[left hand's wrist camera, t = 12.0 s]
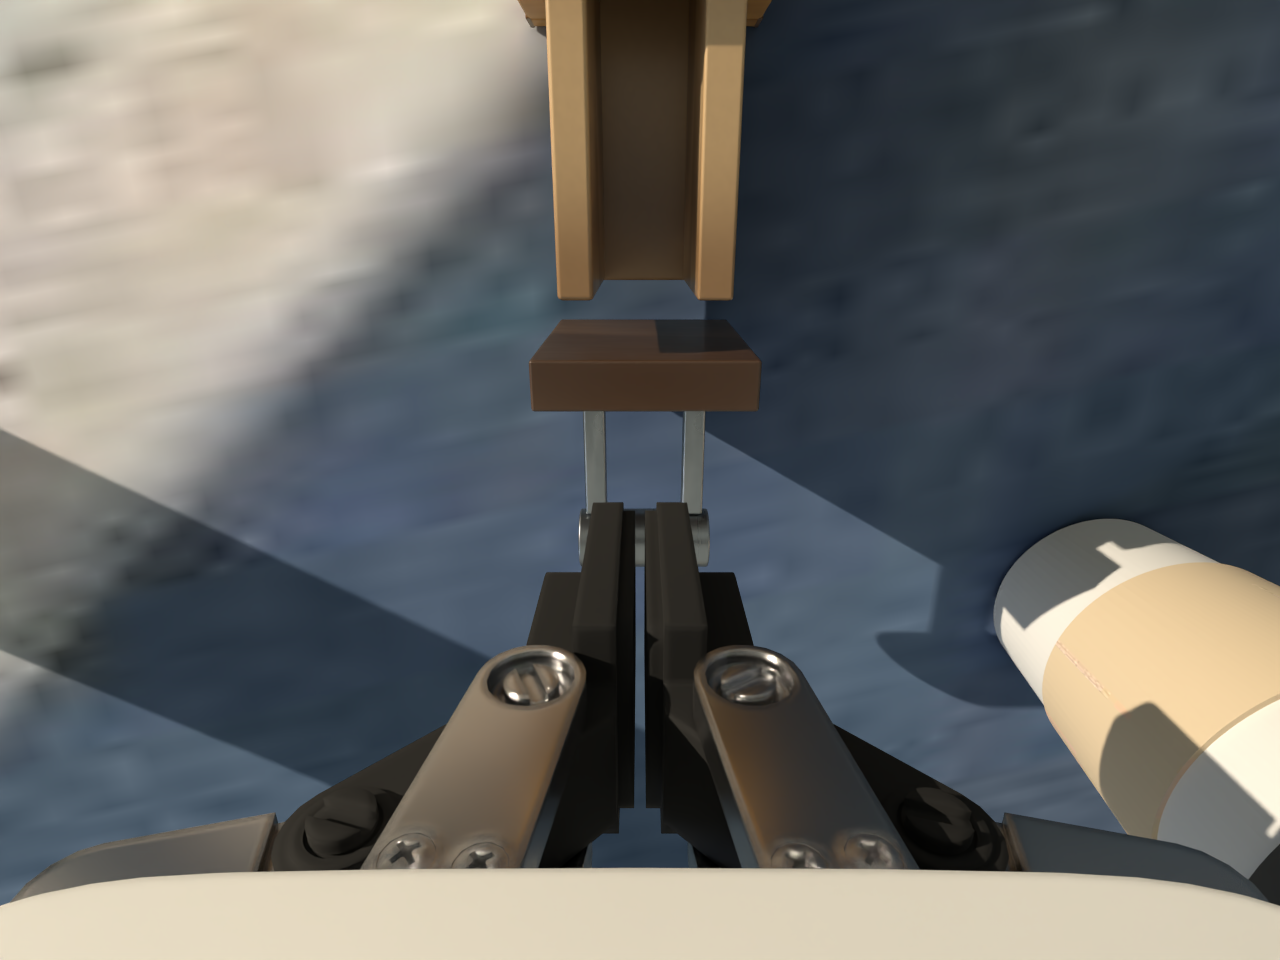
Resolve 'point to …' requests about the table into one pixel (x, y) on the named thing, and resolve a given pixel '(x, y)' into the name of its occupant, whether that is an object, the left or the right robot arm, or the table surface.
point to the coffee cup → (1158, 684)
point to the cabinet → (536, 11)
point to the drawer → (645, 222)
